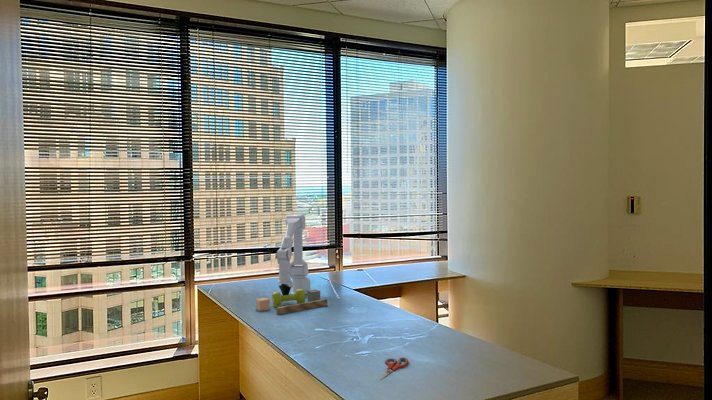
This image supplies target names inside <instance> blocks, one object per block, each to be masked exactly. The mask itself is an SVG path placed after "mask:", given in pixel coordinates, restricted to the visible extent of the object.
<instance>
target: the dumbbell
mask: <svg viewBox="0 0 712 400" xmlns="http://www.w3.org/2000/svg"><path fill="white" fill-rule="evenodd" d="M271 295H272V296H271V303H272V306H273V307H274V308H277V307H282V304H283V302H284V303H285V302H290V301H291V302H292V301H296V303H297V304H299V303H304V302H306V299H307V296H306V294H305V292H304V290H303V289H297V291H296V293H295V294H291V293H290V294H289V295H284V296H283V295H282V293H280V292H279V291H274V292H272V294H271Z"/></svg>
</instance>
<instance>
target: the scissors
mask: <svg viewBox="0 0 712 400" xmlns="http://www.w3.org/2000/svg"><path fill="white" fill-rule="evenodd" d="M390 362H391V363H390ZM402 362H404V363H403V364H402ZM384 364H385V365H386V366H387V368H386V371H385V372H384V374H383V375H382V376H380V378H379V379H378V381H377V383H379V382H380V381H382V380H383V379H385V378H386V377H388V376H389V375H390V374H392V373H393V372H396V371H397V370H399V369H404V368H406V367H407V366H408V365H409V360H408V358H407V357H399V358H398V361H397V359H395V358H392V357H391V358H387V359H385V360H384Z"/></svg>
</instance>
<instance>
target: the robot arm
mask: <svg viewBox="0 0 712 400" xmlns="http://www.w3.org/2000/svg"><path fill="white" fill-rule="evenodd" d="M284 222H285V226H286V231H285V236H284V237H282V239H281V244H280V246H279V249H278V250H277V251H276V261H277V264H278V276H279V277H278V279H277V282H276V283H277V284H279V285H278V288H279V289H280V292H281V295H282V296H284V295H291V294H295V293H296V291H297V289H303V290H304V292H305V295H307V291H309V290H312V288H311V278H310V277H309V266H308V262H307V261H305V259H303V255H304V254H303V246H304V245H303V232H304V230H305V229H306V217H305V215H304V214H303V213H300V214H288V213H287V214H286V216H285V218H284ZM292 247H293V250H292ZM292 252H293V254H292ZM292 255H293V260H292V261H291V259H292ZM291 290H292V291H291Z"/></svg>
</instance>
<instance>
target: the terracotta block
mask: <svg viewBox="0 0 712 400" xmlns="http://www.w3.org/2000/svg"><path fill="white" fill-rule="evenodd" d="M270 300H271V299H270V298H267V297H261V298H255V306H256V307H255V310H257V311H260V312H263V310H264V311H267V310H268V309H269V310H270V309H271V305H270V303H271V301H270Z"/></svg>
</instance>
